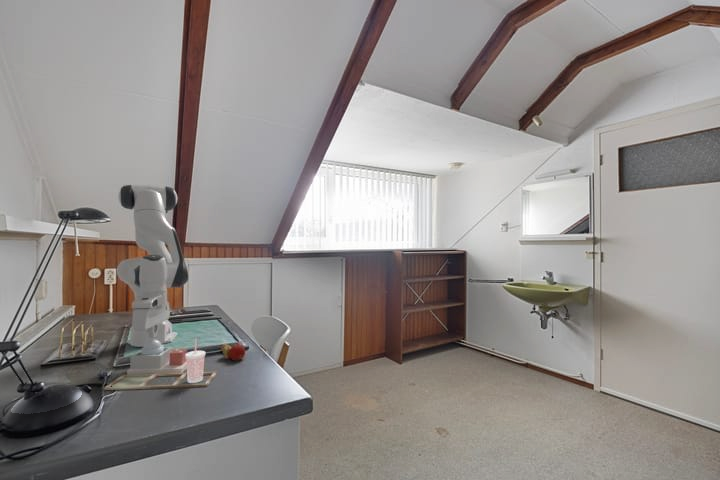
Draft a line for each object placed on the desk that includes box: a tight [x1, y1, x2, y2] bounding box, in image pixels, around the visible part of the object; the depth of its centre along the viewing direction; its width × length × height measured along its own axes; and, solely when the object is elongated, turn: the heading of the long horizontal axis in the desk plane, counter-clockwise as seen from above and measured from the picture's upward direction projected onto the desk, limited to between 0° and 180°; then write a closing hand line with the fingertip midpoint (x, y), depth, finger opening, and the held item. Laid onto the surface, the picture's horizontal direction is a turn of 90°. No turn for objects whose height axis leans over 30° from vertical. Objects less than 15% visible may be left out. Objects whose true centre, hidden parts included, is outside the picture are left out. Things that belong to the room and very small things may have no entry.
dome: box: [140, 339, 165, 355], centre depth 125 cm, size 7×7×7 cm
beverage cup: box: [185, 337, 207, 384], centre depth 114 cm, size 6×6×14 cm
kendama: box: [220, 342, 246, 361], centre depth 139 cm, size 8×6×18 cm
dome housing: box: [126, 346, 188, 375], centre depth 125 cm, size 12×18×6 cm, turn 97°
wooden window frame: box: [103, 371, 218, 391], centre depth 113 cm, size 11×31×1 cm, turn 97°
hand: (152, 337), depth 125 cm, fingers closed
